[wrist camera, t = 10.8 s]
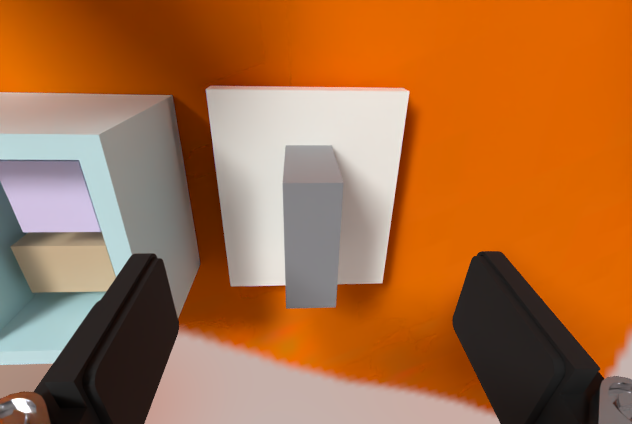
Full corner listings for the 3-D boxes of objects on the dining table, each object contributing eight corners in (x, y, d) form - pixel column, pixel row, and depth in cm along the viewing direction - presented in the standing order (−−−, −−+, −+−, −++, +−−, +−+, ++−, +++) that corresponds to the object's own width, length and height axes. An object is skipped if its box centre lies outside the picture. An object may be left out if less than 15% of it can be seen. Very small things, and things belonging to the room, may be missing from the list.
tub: (-3, 92, 16) (-190, 131, 10) (172, 95, 16) (98, 134, 10) (65, 265, 21) (-33, 365, 14) (200, 263, 21) (161, 360, 15)
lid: (214, 83, 16) (173, 111, 11) (398, 85, 17) (449, 113, 11) (235, 267, 22) (214, 350, 16) (376, 265, 22) (403, 344, 17)
